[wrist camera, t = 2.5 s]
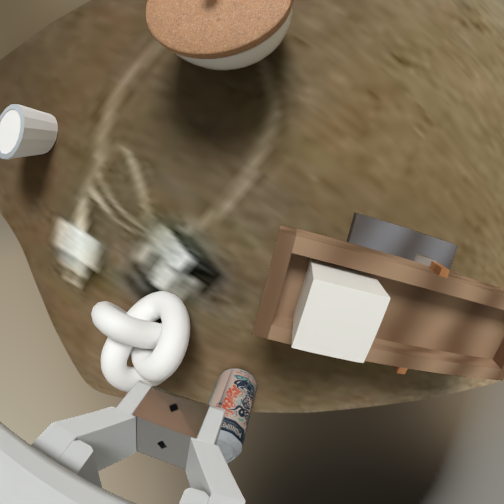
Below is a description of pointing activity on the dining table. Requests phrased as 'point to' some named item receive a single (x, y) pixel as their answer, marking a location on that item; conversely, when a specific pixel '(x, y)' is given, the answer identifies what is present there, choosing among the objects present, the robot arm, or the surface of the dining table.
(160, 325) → the white knot sculpture
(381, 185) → the dining table surface
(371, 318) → the white block
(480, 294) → the brown wooden tray
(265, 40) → the lidded bowl
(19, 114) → the shot glass
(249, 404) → the beer can
